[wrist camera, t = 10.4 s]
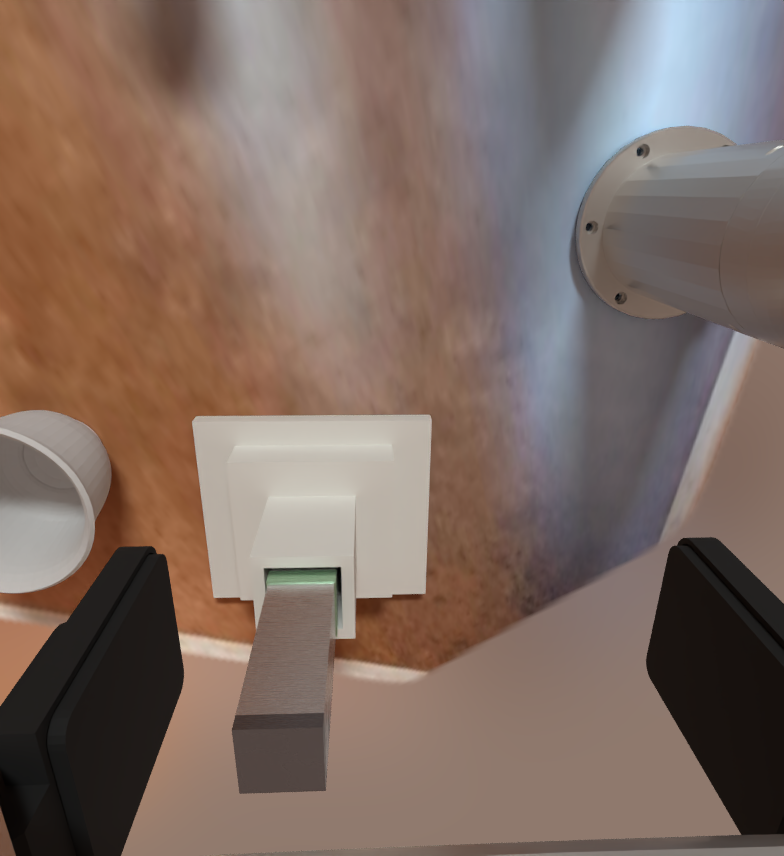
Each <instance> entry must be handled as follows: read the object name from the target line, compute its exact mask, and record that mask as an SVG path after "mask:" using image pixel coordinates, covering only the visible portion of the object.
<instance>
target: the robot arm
mask: <svg viewBox="0 0 784 856" xmlns="http://www.w3.org/2000/svg"><path fill="white" fill-rule="evenodd" d="M637 148H639V149H640V150H641V153H640V155H639V156H637V152H636V151H637ZM588 223H590V225H591V228H590V229H589V230H588V231H587V230H586V225H587V224H588ZM576 251H577V256H578V261H579V266H580V268H581V270H582V273H583V275H584V277H585V280H586V281H587V283H588V284H589V286H590V287H591V289H592V290H593V291H594V293H595V294H596V295H597V296H598V297H600V298H601V299H602V300H603V301H604V302H605V303H606V304H608V305H610V306H611V307H613V308H615V309H616V310H618V311H620V312H623V313H625V314H628V315H630V316H634V317H639V318H644V319H665V318H671V317H676V316H680V315H683V314H685V313H690V314H692V315H695V316H698V317H700V318H703V319H705V320H708V321H711V322H713V323H716V324H719V325H721V326H724V327H726V328H729V329H732V330H734V331H737V332H740V333H742V334H745V335H748V336H750V337H753V338H756V339H759V340H761V341H764V342H767V343H770V344H773V345H775V346H778V347H781V348H784V140H776V141H768V142H760V143H751V144H743V145H737V144H736V143H734V142H733V141H731V140H730V139H728V138H727V137H725V136H724V135H722V134H720V133H718V132H715V131H712V130H710V129H707V128H702V127H694V126H680V127H669V128H665V129H661V130H657V131H653V132H651V133H649V134H646V135H644V136H641V137H639V138H637V139H635V140H634V141H632V142H631V143H629V144H627V145H626V146H624V147H623V148H621V149H620V150H619V151H618V152H617V153H616V154H615V155H614V156H612V157H611V158H610V159H609V160H608V161H607V162H606V163H605V165H604V166H603V167H602V168H601V170H600V171H599V172H598V174H597V175H596V176H595V177H594V179H593V181H592V183H591V185H590V186H589V188H588V190H587V192H586V194H585V196H584V199H583V202H582V205H581V208H580V211H579V214H578V220H577V226H576ZM618 293H619V298H618V299H616V300H615V297H616V295H617V294H618ZM646 665H647V671H648V674H649V677H650V679H651V681H652V683H653V684H654V686H655V688H656V689H657V691H658V693H659V695H660V696H661V698H662V700H663V701H664V703H665V705H666V706H667V708H668V710H669V711H670V713H671V715H672V717H673V718H674V720H675V722H676V723H677V725H678V727H679V729H680V730H681V732H682V734H683V736H684V737H685V739H686V740H687V742H688V744H689V745H690V748H691V749H692V751H693V752H694V754H695V756H696V758H697V760H698V761H699V763H700V765H701V766H702V768H703V770H704V771H705V773H706V775H707V777H708V778H709V780H710V782H711V783H712V785H713V787H714V789H715V790H716V792H717V793H718V795H719V797H720V799H721V800H722V802H723V804H724V806H725V807H726V809H727V811H728V812H729V814H730V816H731V818H732V819H733V821H734V822H735V824H736V826H737V828H738V830H739V831H740V833H741V835H729V836H697V837H668V838H667V837H665V838H635V839H602V840H573V841H545V842H518V843H490V844H465V845H439V846H414V847H387V848H364V849H341V850H318V851H296V852H274V853H251V854H229V855H228V854H227V855H209V856H784V604H783V603H782V602H781V601H780V600H779V599H778V598H777V597H776V596H775V595H774V594H773V593H772V592H771V591H770V590H769V589H768V588H767V587H766V586H765V585H764V584H763V583H762V582H761V581H760V580H759V579H758V578H757V577H756V576H755V575H754V574H753V573H752V572H751V571H750V570H749V569H748V568H747V567H746V566H745V565H744V564H743V563H742V562H741V561H740V560H739V559H738V558H737V557H736V556H735V555H734V554H733V553H732V552H731V551H730V550H729V549H728V548H726V546H724V545H723V544H722V543H721V542H720V541H719V540H718V539H716V538H712V537H710V538H683V539H681V540H680V541H679V542H678V545H677V546H673V547H671V549H670V551H669V554H668V558H667V563H666V568H665V572H664V577H663V582H662V587H661V591H660V596H659V601H658V605H657V610H656V615H655V620H654V624H653V629H652V634H651V639H650V643H649V648H648V653H647V659H646ZM183 679H184V668H183V662H182V655H181V649H180V642H179V636H178V629H177V623H176V617H175V610H174V604H173V597H172V591H171V584H170V578H169V572H168V565H167V560H166V557H165V555H163V554H157V553H156V550H155V549H154V548H153V547H152V546H144V547H119V548H118V549H117V550H116V551H115V553H114V554H113V556H112V557H111V558H110V560H109V561H108V563H107V564H106V566H105V567H104V569H103V570H102V571H101V573H100V574H99V576H98V577H97V579H96V580H95V582H94V583H93V584H92V586H91V587H90V589H89V590H88V592H87V593H86V594H85V596H84V597H83V599H82V600H81V602H80V603H79V605H78V606H77V607H76V609H75V610H74V612H73V613H72V615H71V616H70V618H69V619H68V620H67V622H65V623H63V624H61V625H59V626H58V627H57V628H56V629H55V630H54V631H53V633H52V634H51V636H50V637H49V638H48V640H47V641H46V643H45V644H44V645H43V647H42V648H41V650H40V651H39V652H38V654H37V655H36V657H35V658H34V659H33V661H32V662H31V664H30V665H29V667H28V668H27V669H26V671H25V672H24V674H23V675H22V676H21V678H20V679H19V681H18V682H17V684H16V685H15V686H14V688H13V689H12V691H11V692H10V694H9V695H8V696H7V698H6V699H5V701H4V702H3V703H2V705H1V706H0V856H121V854H122V851H123V848H124V845H125V843H126V840H127V837H128V835H129V832H130V829H131V826H132V824H133V821H134V818H135V815H136V813H137V810H138V807H139V805H140V802H141V799H142V797H143V794H144V791H145V788H146V786H147V783H148V780H149V777H150V775H151V772H152V769H153V766H154V764H155V761H156V758H157V755H158V753H159V750H160V747H161V745H162V742H163V739H164V737H165V734H166V731H167V729H168V726H169V723H170V720H171V718H172V715H173V712H174V709H175V707H176V704H177V701H178V699H179V696H180V693H181V690H182V685H183Z"/></svg>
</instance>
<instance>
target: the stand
mask: <svg viewBox="0 0 784 856" xmlns="http://www.w3.org/2000/svg"><path fill="white" fill-rule="evenodd" d="M192 425H193V433H194V441H195V450H196V458H197V466H198V474H199V482H200V490H201V498H202V506H203V514H204V523H205V531H206V539H207V547H208V555H209V563H210V571H211V579H212V587H213V596H214V598H232V597H240V599H241V600H253V601H254V612H255V623H256V630H257V626H258V622H259V618H260V614H261V610H262V606H263V602H264V598H265V594H266V590H267V588H266V581H267V577H268V573H269V571H271V569H272V568H310V567H339V570H340V578H339V594H338V635H337V637H336V639H352V638H355V627H356V598H390V597H392V594H425V589H426V561H427V534H428V507H429V479H430V452H431V425H432V420H431V416H430V415H311V416H196V417H195V419H194V420H193V421H192Z"/></svg>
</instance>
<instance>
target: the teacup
mask: <svg viewBox="0 0 784 856" xmlns="http://www.w3.org/2000/svg"><path fill="white" fill-rule="evenodd" d="M111 477H112V474H111V464H110V460H109V457H108V454H107V451H106V449H105V447H104V446H103V444H102V442H101V440H100V438H99V437H98V435H97V434H96V433H95V432H94V431H93V430H92V429H91V428H90V427H88V426H87V425H85V424H84V423H82V422H80V421H78V420H75V419H73V418H71V417H69V416H66V415H63V414H60V413H56V412H52V411H45V410H31V411H22V412H18V413H14V414H10V415H7V416H3V417H1V418H0V593H28V592H35V591H39V590H43V589H46V588H49V587H52V586H54V585H57V584H58V583H60V582H62V581H64V580H66V579H67V578H69V577H70V576H71V575H73V574H74V573H75V572H76V571H77V570H78V569H79V568H80V567H81V566H82V564H83V563H84V562H85V560H86V559H87V557H88V555H89V553H90V551H91V548H92V544H93V541H94V533H95V520H96V518H97V517H98V515H99V513H100V511H101V509H102V507H103V505H104V503H105V501H106V498H107V496H108V493H109V490H110V485H111Z"/></svg>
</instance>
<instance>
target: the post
mask: <svg viewBox="0 0 784 856" xmlns="http://www.w3.org/2000/svg"><path fill="white" fill-rule="evenodd" d="M339 578H340V570H339V567H310V568H272V569H271V571H269V573H268V577H267V581H266V588H267V590H266V594H265V598H264V602H263V606H262V610H261V614H260V618H259V622H258V626H257V630H256V634H255V638H254V642H253V646H252V650H251V654H250V659H249V663H248V667H247V671H246V675H245V679H244V683H243V687H242V691H241V695H240V700H239V704H238V707H237V711H236V715H235V720H234V724H233V728H232V735H233V743H234V752H235V759H236V768H237V776H238V783H239V793H240V794H241V793H272V792H302V791H325V790H326V778H327V762H328V747H329V731H330V716H331V701H332V686H333V685H332V684H333V671H334V655H335V640H336V637H337V635H338V594H339Z"/></svg>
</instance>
